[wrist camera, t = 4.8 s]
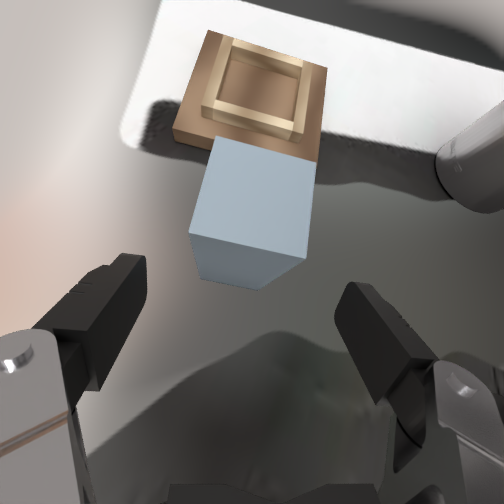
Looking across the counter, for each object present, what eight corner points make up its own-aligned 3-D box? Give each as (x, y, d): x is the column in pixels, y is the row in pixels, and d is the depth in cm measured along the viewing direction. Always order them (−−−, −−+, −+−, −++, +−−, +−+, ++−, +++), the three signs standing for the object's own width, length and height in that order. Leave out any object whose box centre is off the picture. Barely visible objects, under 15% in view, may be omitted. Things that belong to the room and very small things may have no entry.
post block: (266, 237, 20) (316, 162, 10) (257, 290, 19) (306, 258, 9) (213, 225, 19) (215, 135, 10) (200, 278, 18) (188, 232, 9)
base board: (321, 81, 26) (332, 56, 24) (310, 176, 22) (322, 158, 20) (208, 46, 25) (207, 15, 23) (174, 140, 21) (169, 116, 19)
